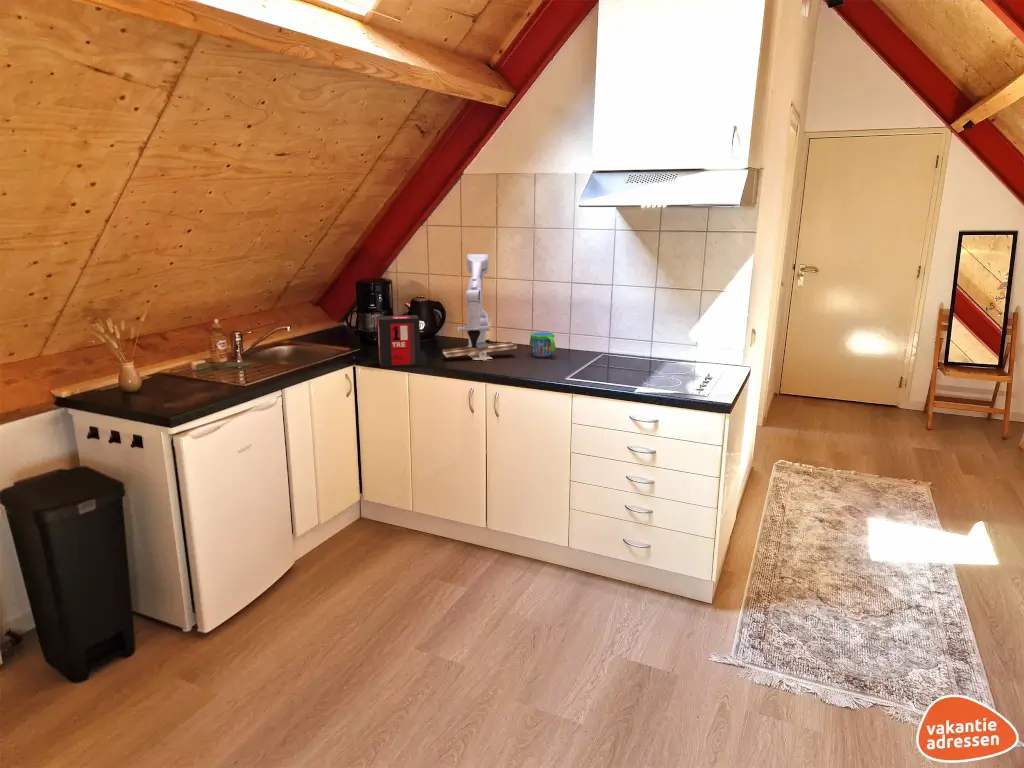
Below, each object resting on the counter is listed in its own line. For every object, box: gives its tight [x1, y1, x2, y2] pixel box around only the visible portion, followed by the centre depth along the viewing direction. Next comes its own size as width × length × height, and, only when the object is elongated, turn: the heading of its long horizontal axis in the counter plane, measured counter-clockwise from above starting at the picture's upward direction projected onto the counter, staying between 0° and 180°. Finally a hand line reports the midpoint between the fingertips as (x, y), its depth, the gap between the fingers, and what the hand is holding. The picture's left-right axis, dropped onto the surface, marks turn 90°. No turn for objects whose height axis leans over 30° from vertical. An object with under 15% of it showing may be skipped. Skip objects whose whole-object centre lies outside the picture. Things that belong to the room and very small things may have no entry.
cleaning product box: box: [376, 314, 421, 368], centre depth 280 cm, size 16×9×20 cm, turn 105°
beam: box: [442, 341, 518, 358], centre depth 294 cm, size 32×7×2 cm, turn 108°
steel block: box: [475, 341, 489, 349], centre depth 294 cm, size 5×5×2 cm
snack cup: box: [529, 331, 556, 358], centre depth 299 cm, size 16×10×10 cm
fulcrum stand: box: [467, 352, 493, 361], centre depth 295 cm, size 11×8×4 cm
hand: (473, 347), depth 293 cm, fingers closed
